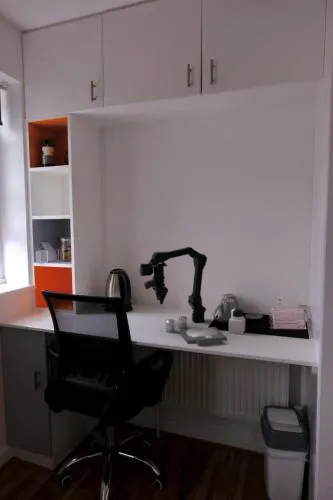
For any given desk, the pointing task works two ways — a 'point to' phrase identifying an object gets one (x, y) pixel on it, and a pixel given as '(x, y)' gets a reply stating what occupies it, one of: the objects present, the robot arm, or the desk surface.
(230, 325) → the medicine bottle
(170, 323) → the cylinder
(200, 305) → the robot arm
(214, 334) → the scale
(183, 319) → the cylinder
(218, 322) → the desk surface
